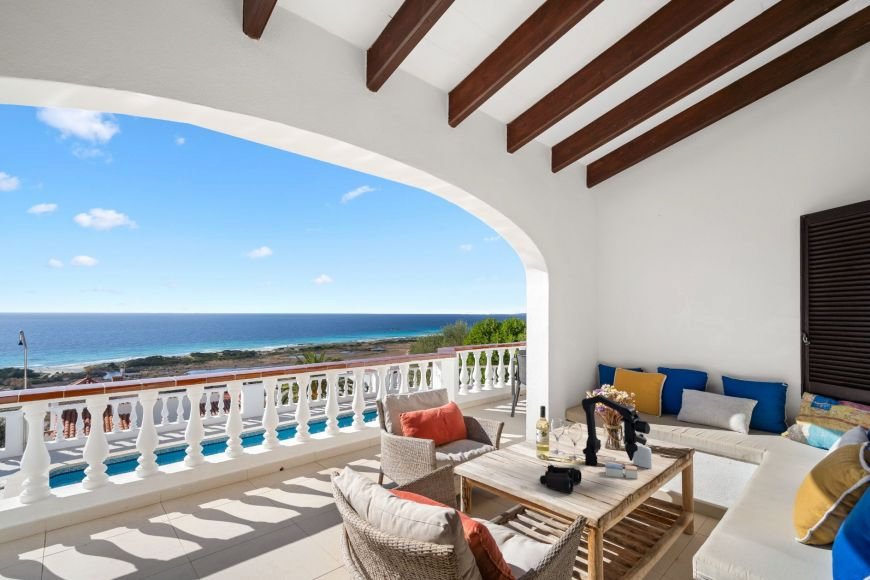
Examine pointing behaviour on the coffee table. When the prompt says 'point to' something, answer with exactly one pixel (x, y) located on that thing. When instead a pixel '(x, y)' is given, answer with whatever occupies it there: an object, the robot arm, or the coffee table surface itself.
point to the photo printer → (643, 457)
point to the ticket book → (614, 470)
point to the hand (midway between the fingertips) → (630, 458)
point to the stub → (631, 472)
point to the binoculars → (561, 478)
